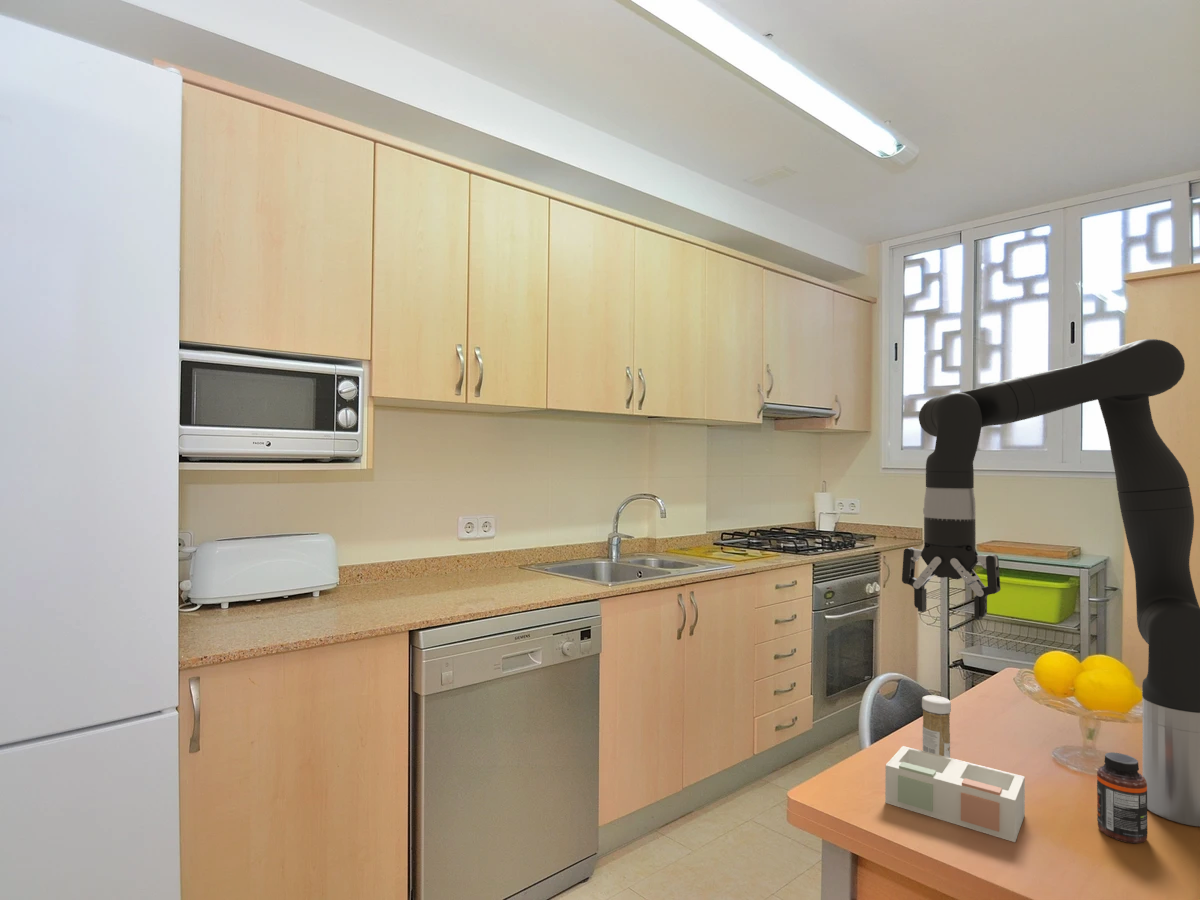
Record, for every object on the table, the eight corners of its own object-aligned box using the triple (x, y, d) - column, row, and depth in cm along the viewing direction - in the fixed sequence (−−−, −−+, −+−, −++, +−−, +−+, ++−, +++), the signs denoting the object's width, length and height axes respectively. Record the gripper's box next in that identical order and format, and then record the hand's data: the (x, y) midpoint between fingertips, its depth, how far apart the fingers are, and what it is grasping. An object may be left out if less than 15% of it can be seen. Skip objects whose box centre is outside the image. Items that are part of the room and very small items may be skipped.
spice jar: (956, 781, 118) (956, 702, 119) (932, 782, 118) (932, 703, 118) (939, 769, 123) (940, 693, 123) (916, 770, 122) (916, 694, 123)
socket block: (1024, 815, 107) (1024, 773, 107) (1014, 843, 99) (1014, 798, 99) (902, 781, 118) (902, 743, 118) (884, 803, 110) (884, 763, 110)
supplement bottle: (1098, 819, 106) (1098, 745, 106) (1147, 833, 102) (1147, 756, 102) (1095, 835, 101) (1095, 758, 102) (1147, 850, 98) (1146, 769, 98)
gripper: (1004, 517, 110) (1004, 618, 110) (911, 512, 120) (911, 605, 120) (992, 519, 105) (992, 626, 104) (896, 514, 114) (896, 612, 114)
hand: (949, 615), depth 112 cm, fingers open, 8 cm apart
